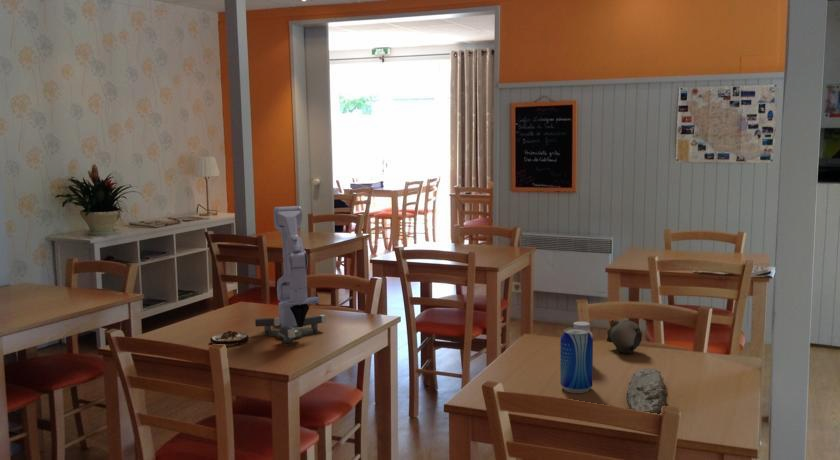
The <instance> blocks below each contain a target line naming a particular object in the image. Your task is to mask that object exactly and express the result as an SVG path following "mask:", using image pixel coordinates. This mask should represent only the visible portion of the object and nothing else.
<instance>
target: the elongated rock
mask: <svg viewBox="0 0 840 460" xmlns="http://www.w3.org/2000/svg"><path fill="white" fill-rule="evenodd" d="M628 385H629V386H628V388H627V390H626V397H625V398H626V403H627V404H628V410H629V409H633V410H639V411H644V412H650V413H657V414H660V413H661V408H662V406H664V405H666V402H667V397H668V395H669V394H668V391H667V390H666V389H665V382H664V377H662V375H661V371H659V370H657V369H656V368H649V367H648V368H641V369H640V370H636V371H635V372H634V373H633V374H632V376H631V381H630V382H628Z"/></svg>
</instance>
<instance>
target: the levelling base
mask: <svg viewBox="0 0 840 460" xmlns="http://www.w3.org/2000/svg"><path fill="white" fill-rule="evenodd" d="M290 328H292V329H295V337H293V338H291V343H284V335H283V334H281V333H280V328H277V327H273V328H271V330H268V333H265V332H262V335H263V336H270V337H276V338H277V339H278V340H281V341H283V342H282V343H281V344H282V345H283V346H292V345H294V340H299V339H301V338H303V337H304V336H306V335H307V336H308V335H313V334H318V333H320V332H321V331H320V330H319V329H318V331H313V328H311V327H310V326H305V327H298V326H295V327H290Z"/></svg>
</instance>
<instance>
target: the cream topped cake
mask: <svg viewBox="0 0 840 460" xmlns="http://www.w3.org/2000/svg"><path fill="white" fill-rule="evenodd" d="M249 339H250V337H249V335H248V334H247V333H246V332H242V331H239V332H237V331H236V330H228V331H226V332H225V331H224V332H221V333H217V334H215V335H213V336H211V338H210V342H211V344H212V343H213V344H225V345H226V346H227V348H229V347H235V346H236V347H237V346H240V345H243V343H244V344H248V343H249ZM213 344H212V345H213Z"/></svg>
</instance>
